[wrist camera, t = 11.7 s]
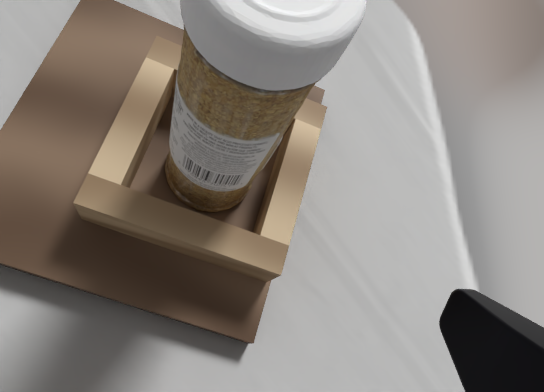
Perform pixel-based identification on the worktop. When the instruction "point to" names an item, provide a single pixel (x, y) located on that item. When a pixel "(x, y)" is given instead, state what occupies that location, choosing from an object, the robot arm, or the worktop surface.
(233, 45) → the spice jar
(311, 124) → the socket
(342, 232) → the worktop surface
